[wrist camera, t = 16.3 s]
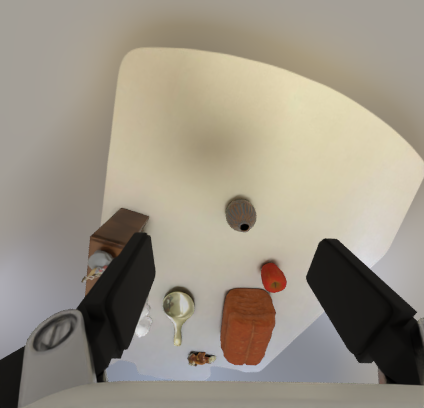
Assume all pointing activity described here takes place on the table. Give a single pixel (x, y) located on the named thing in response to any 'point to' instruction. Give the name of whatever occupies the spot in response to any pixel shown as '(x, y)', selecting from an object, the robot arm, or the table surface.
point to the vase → (241, 215)
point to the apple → (273, 278)
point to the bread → (246, 325)
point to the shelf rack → (114, 236)
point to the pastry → (200, 359)
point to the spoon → (178, 311)
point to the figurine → (98, 263)
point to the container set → (144, 321)
